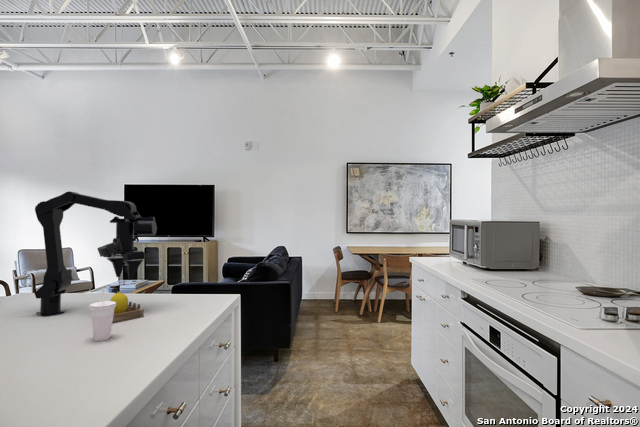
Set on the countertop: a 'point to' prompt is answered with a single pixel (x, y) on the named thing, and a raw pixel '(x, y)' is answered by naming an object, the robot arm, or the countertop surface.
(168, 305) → the countertop surface
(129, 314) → the tray
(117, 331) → the countertop surface
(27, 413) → the countertop surface
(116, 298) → the lemon
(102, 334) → the smoothie
